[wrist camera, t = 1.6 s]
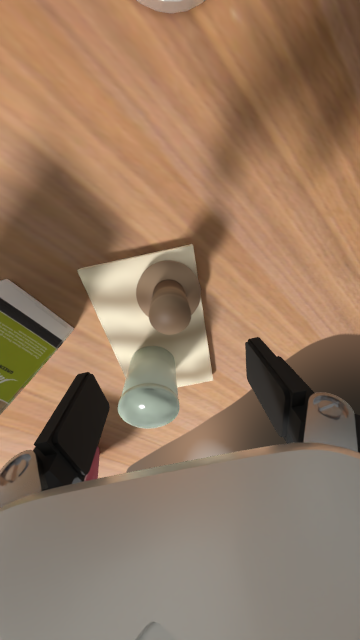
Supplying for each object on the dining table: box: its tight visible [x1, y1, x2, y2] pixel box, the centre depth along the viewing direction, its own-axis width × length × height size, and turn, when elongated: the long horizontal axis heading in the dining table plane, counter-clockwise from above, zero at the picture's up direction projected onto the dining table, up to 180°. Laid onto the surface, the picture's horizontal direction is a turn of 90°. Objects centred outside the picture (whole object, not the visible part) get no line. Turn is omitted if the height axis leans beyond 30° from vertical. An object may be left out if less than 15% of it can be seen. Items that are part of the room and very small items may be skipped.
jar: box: [118, 346, 179, 428], centre depth 25 cm, size 7×7×8 cm
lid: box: [136, 260, 201, 335], centre depth 20 cm, size 8×8×7 cm
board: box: [77, 244, 213, 387], centre depth 27 cm, size 22×14×1 cm, turn 11°
